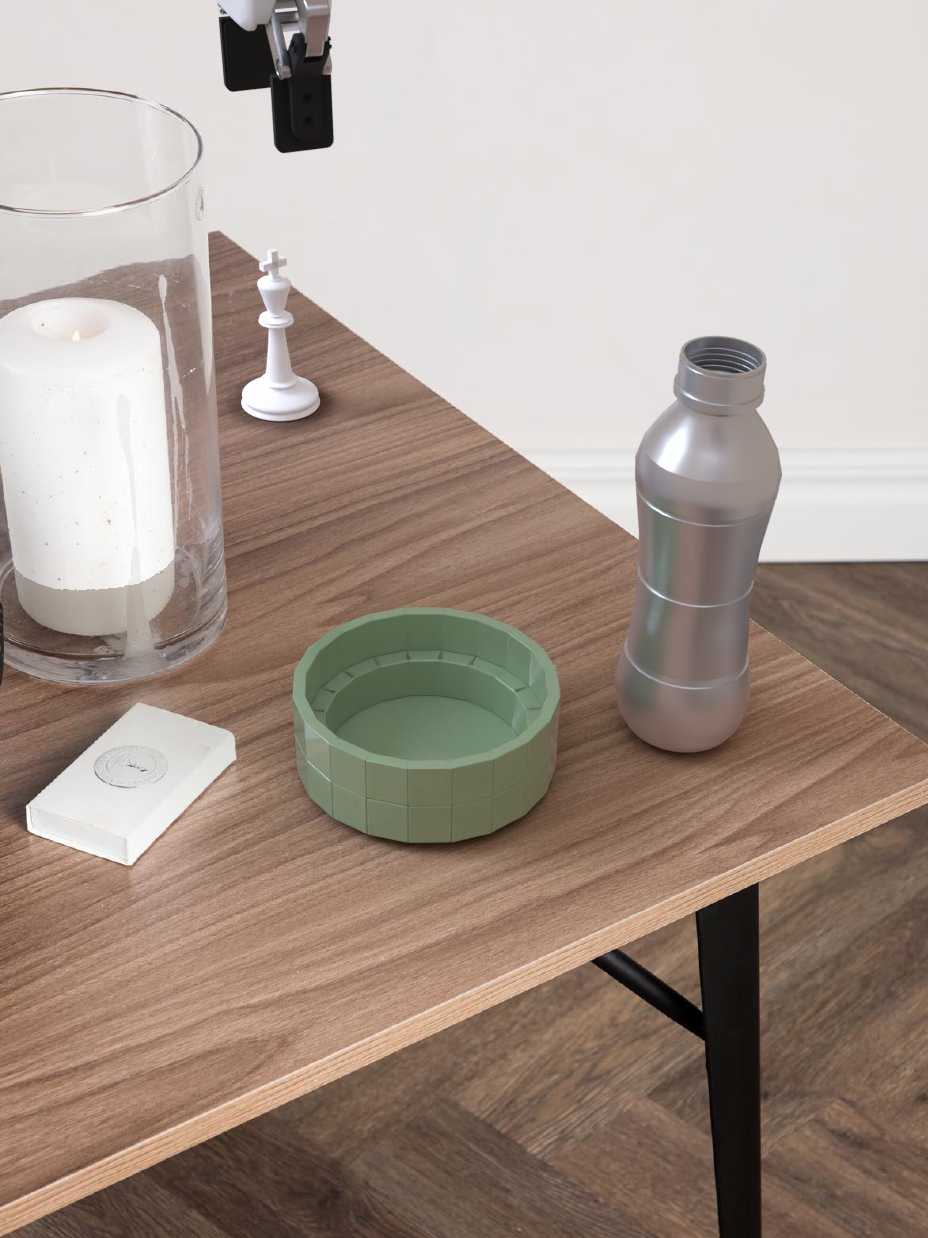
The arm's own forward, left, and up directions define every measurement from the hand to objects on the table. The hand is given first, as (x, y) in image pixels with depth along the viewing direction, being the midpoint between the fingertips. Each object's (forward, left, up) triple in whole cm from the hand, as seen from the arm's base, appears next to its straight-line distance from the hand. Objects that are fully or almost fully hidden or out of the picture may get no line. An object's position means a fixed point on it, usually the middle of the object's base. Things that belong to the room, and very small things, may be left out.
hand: (277, 117), depth 96 cm
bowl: (+18, -31, -18) cm, 40 cm away
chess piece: (-1, 0, -18) cm, 18 cm away
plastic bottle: (+29, -25, -18) cm, 42 cm away
